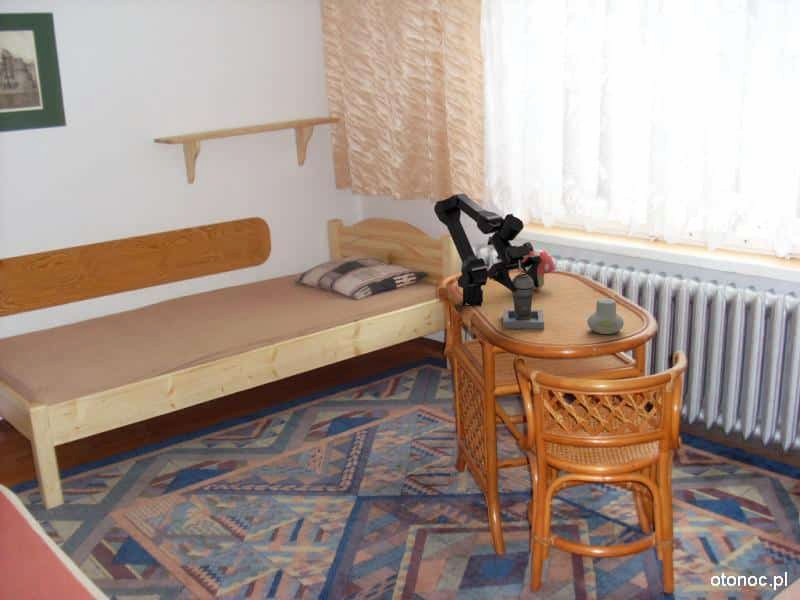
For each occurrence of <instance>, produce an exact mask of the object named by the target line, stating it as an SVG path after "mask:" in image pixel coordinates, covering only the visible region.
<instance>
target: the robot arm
mask: <svg viewBox="0 0 800 600" xmlns="http://www.w3.org/2000/svg"><path fill="white" fill-rule="evenodd" d="M433 210H434V213H435V215H436V217H437V218H438V220H439V221H440V222H441V223H442V224H443V225H444V226H446V227H447V231H448V233H449V235H450V236H451V240H452V241H453V245H454V246H455V248H456V251H457V253H458V255H459V258H460V260H461V269H460V272H461V276H459V277H458V279H457V286H458V287H459V288H462V303H461V306H466V305H465V304H466V303H467V304H469V305H468V306H482V303H484V289H483V288H482V287H483V286H487V282H488V279H489V280H493V281H494V282H497V283H499V284H501V285H502V286H504V287H505V288H506V289H508V290H509V291H511V292H514V293H515V292H516V289H515V286H514V284H513V282H512V281H513V279H512V278H511V276H510V272H511V271H516V270H517V269H519V261H518V260H520V265H521V268H523V270H524V271H525V272H526V273H524V274H527V275H529V276H530V277H531V278H532V280H533V284H534V286H535V287H536V288H538V287H539V283H538V276H537V268H538V267H539V265H540V263H541V262H542V260H541V258H540V256H538V255H535V256H530V257H528V258H527V259H526V261H525V262H522V260H523V259H524V258H525V257H524V256H526V255H530V254H531V253H530V252H532V251H533V249H534V247H533V245H532V243H531V242H530V241H527V242H525V243H522V245H519V246H518V245H514V244H513V243H512V241H514V240H515V239H516V238H517V237H518V236H519V234H520V233H522V230H524V228H525V227H524V223H523V221H522V220H521V219H520V218H519V217H516V216H514V214H513V213H509V214H506V215H505V218H503V216H502V215H501V214H498V213H496V212H493V211H488V210H486V209H484V208H483V207H482V206H480V205H479V204H477V203H476V202H475V201H474V200H473V199H471V198H470V197H468V194H467V193H457V194H453V195H451V196H450V197H448V198H445V199H442V200H437V201H436V203H435V204H434V208H433ZM462 212H463V213H464V214H466V216H468V217H469V218H470V219H472V220H473V221H475V223H476V227H477V228H478V230H479V231H480V232H481V233H482V234H483V235H489V234H490V235H491V234H493V235H492V236H489V237H488V241H487V246H492V247H493V248H494V251H495V253H496V254H497V256H496V260H497V261H499V260H500V262H494V263H493V264H492V265H491V267H490V268H489V267H488V266H487V263H486V262H485V259H484V258H483V257H480V258H478V257H477V255H475V252H474V249H473V248H472V245H471V243H470V240H469V238H468V236H467V233H466V231H465V229H464V226H463V225H462V222H461V215H462ZM488 268H489V269H488Z"/></svg>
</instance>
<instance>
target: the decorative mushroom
mask: <svg viewBox="0 0 800 600" xmlns="http://www.w3.org/2000/svg"><path fill="white" fill-rule="evenodd" d="M530 253H531V254H530V255H526V256H524V257H525V258H524V259H523V260H522V262H525V261H526V259H527V258H528V257H530V256H535V255H538V256H540V258H541V260H542V262H541V263H540V265H539V267H538V268H537V276H538V283H539V287H538V288H536V287H535V286H534V290H533V291H538V290H540V289H542V288H543V286H545V275H547V274H550V273H552V272H553V271H554V270H555V263H554V260H553V258H552V256H551V255H550V254H549V253H548V252H547V251H544V250H542V249H539V248H533V251H532V252H530ZM516 270H517V271H518V272H520V270H519V269H516ZM525 273H526V272H525V271H524V270H523V268H521V274H525Z"/></svg>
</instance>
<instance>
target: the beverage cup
mask: <svg viewBox="0 0 800 600" xmlns="http://www.w3.org/2000/svg"><path fill="white" fill-rule="evenodd" d="M518 261H519V270H520V271H519V274H516V275H515V276H514V278H512V282H513V284H514V286H515V289H516V292H515V293H514V292H512V291H511V292H512V297H513V310H514V311H515V319H516V320H530V315H531V310H532V302H533V293H534V291H535V290H534V284H533V280H532V278H531V277H530V276H529V275H527V274H525V273H522V272H521V265H520V260H518Z"/></svg>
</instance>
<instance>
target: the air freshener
mask: <svg viewBox="0 0 800 600" xmlns="http://www.w3.org/2000/svg"><path fill="white" fill-rule="evenodd" d="M586 321H587V326H588V328H589V329H590V330H591V331H593V332H594V333H597V334H599V333H600V335H603V334H609V335H613V334H615V333H619V331H621V330H622V329H623V327H624V324H625V322H624V319H623V317H622V316H621V315H619V314H618V313H617V301H616V300H615V299H613V298H609V297H604V298H603V297H602V298H599V299H597V300H596V309H595V312H594V313H592V314H590V316H588V318H587V320H586Z"/></svg>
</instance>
